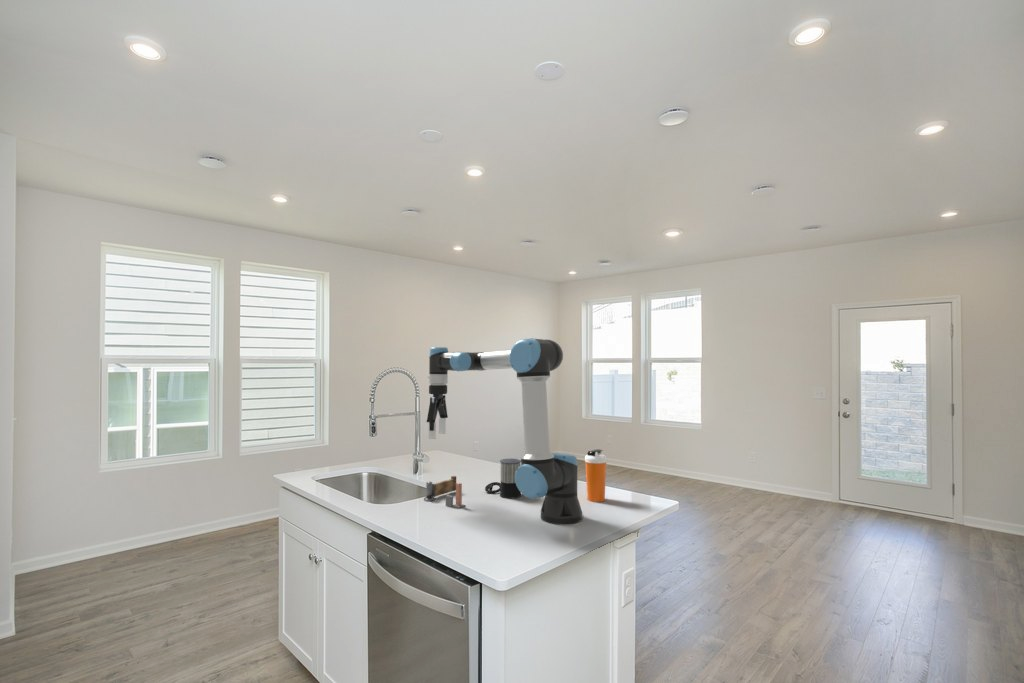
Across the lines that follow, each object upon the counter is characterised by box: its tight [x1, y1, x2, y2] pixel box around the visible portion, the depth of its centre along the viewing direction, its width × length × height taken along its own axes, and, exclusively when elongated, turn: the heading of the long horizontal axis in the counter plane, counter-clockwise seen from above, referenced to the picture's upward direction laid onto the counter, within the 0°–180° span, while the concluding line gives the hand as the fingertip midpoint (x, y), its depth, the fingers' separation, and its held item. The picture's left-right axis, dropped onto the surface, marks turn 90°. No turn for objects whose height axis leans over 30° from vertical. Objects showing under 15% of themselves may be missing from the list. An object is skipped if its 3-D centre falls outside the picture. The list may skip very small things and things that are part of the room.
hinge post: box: [423, 481, 436, 502], centre depth 204 cm, size 4×4×7 cm
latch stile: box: [445, 482, 466, 509], centre depth 195 cm, size 7×4×9 cm, turn 53°
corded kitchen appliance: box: [484, 458, 522, 499], centre depth 213 cm, size 14×16×15 cm
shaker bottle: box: [584, 449, 608, 503], centre depth 204 cm, size 9×9×20 cm
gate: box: [432, 475, 457, 498], centre depth 211 cm, size 14×2×6 cm, turn 143°
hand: (437, 436), depth 204 cm, fingers open, 13 cm apart
